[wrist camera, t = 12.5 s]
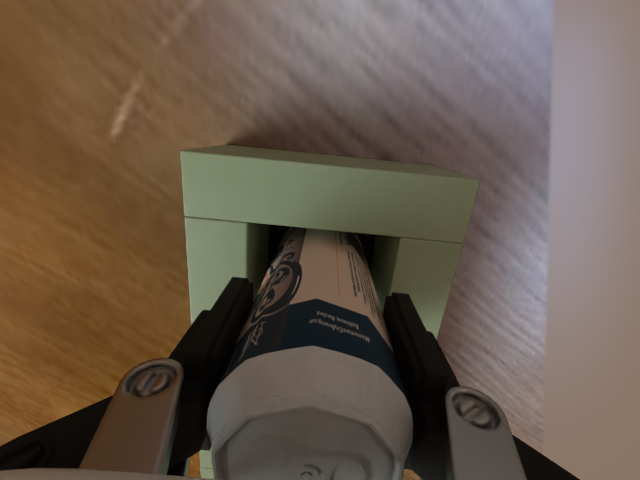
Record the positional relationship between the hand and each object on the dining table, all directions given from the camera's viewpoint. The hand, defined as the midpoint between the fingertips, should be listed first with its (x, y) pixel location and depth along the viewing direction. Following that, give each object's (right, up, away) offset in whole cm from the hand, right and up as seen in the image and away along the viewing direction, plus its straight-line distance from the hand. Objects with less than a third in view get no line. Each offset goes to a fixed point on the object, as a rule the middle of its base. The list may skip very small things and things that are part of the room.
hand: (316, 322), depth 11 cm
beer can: (0, +2, +7) cm, 7 cm away
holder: (0, -2, +8) cm, 8 cm away
